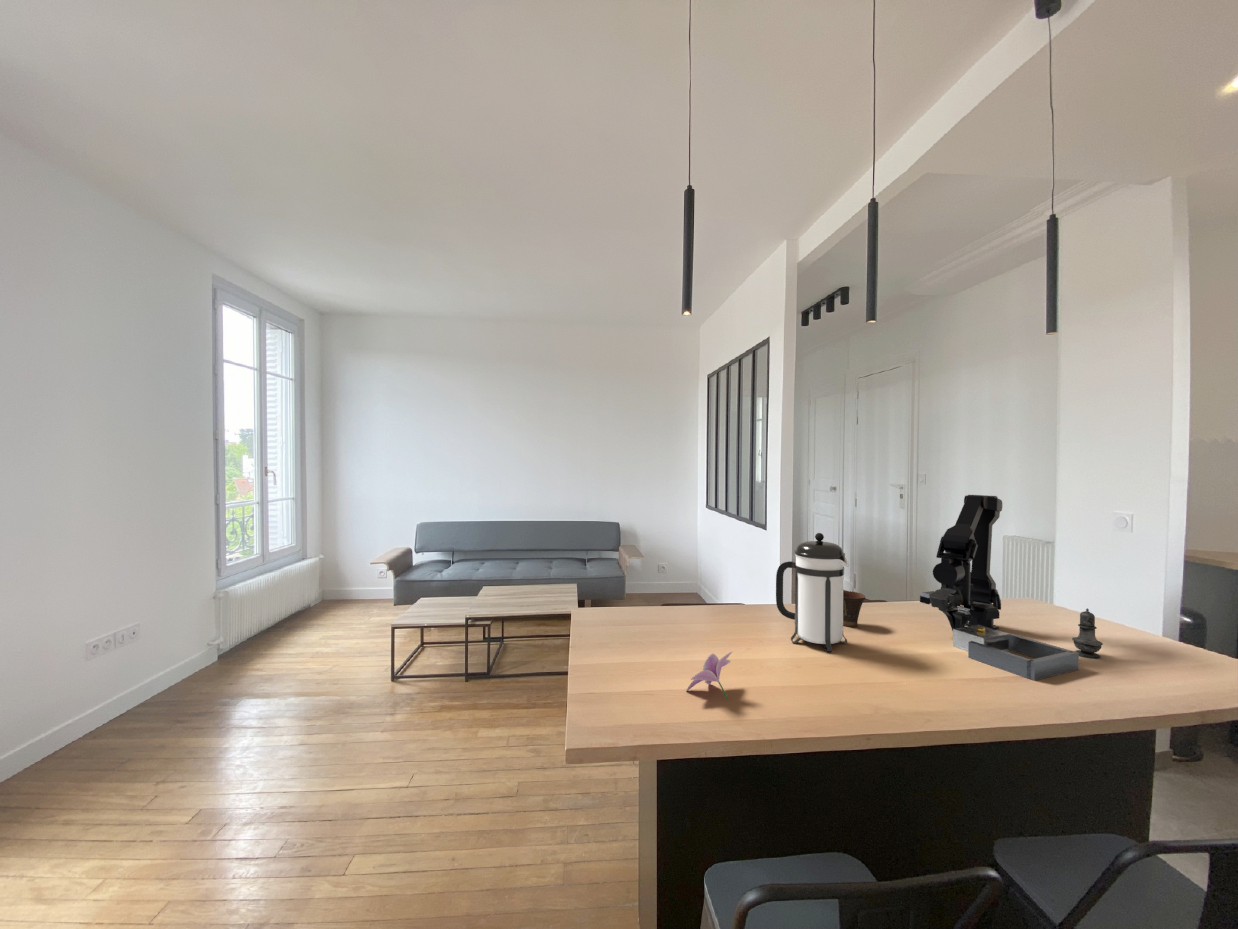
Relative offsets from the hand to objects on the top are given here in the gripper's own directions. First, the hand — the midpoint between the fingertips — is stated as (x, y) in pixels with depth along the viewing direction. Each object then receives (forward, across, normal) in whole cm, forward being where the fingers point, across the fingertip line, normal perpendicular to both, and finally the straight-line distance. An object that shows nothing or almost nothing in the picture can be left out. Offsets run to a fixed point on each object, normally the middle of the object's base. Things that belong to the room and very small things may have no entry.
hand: (956, 636), depth 140 cm
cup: (+2, -22, -16) cm, 27 cm away
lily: (+2, +3, -80) cm, 80 cm away
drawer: (+2, +6, +1) cm, 6 cm away
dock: (+2, +16, 0) cm, 16 cm away
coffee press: (+2, -14, -37) cm, 40 cm away
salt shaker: (+2, +18, +22) cm, 29 cm away
